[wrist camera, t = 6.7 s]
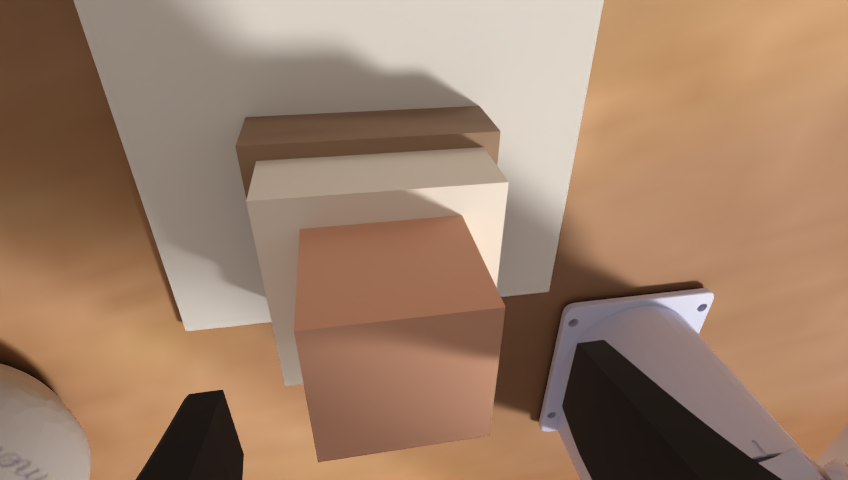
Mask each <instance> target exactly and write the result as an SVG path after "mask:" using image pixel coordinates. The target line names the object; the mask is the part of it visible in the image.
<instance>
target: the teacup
mask: <svg viewBox="0 0 848 480" xmlns="http://www.w3.org/2000/svg"><path fill="white" fill-rule="evenodd" d="M90 467H91V454H90V447H89V443H88V440H87V437H86V434H85V432H84V430H83V428H82V427H81V425H80V423H79V422H78V421H77V419H76V418H75V416H74V415H73V414H72V412H71V411H70V410H69V409H68V408H67V407H66V406H65V404H64V403H63V402H62V401H61V399H60V398H59V397H58V396H57V395H56V394H55V393H54V392H53V391H52V390H51V389H50V388H48V387H47V386H46V385H45V384H43V383H42V382H40V381H39V380H37V379H36V378H34V377H32V376H31V375H29V374H27V373H25V372H23V371H20V370H18V369H15V368H13V367H10V366H7V365H4V364H1V363H0V480H89V476H90Z"/></svg>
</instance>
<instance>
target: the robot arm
mask: <svg viewBox="0 0 848 480" xmlns="http://www.w3.org/2000/svg"><path fill="white" fill-rule="evenodd" d="M713 299H714V294H713V293H712V292H711V291H710V290H709V289H708V288H700V289H691V290H683V291H674V292H665V293H656V294H647V295H638V296H630V297H621V298H612V299H603V300H594V301H585V302H577V303H571V304H569V305H567V306H566V307H565V308H564V310H563V312H562V317H561V321H560V326H559V331H558V335H557V340H556V345H555V350H554V354H553V359H552V364H551V368H550V373H549V378H548V382H547V387H546V392H545V396H544V401H543V406H542V410H541V415H540V420H539V426H540V428H541V430H542V431H554V430H558V432H559V434H560V436H561V438H562V440H563V442H564V445H565V447H566V449H567V451H568V453H569V455H570V458H571V460H572V462H573V464H574V466H575V468H576V471H577V473H578V475H579V477H580V479H581V480H848V464H847V463H846V462H844V461H842V460H840V459H834V460H832V461H831V462H829V463H828V464H826V465H824V468H823V467H822V466H820V465H819V464H818V463H816V462H815V461H814V460H812V459H811V458H810V457H809V456H808V455H807V454H806V453H805V452H804V451H803V449H802V448H801V447H800V446H799V445H798V444H797V443H796V442H795V441H794V439H793V438H792V437H791V436H790V435H789V434H788V433H787V432H786V431H785V429H784V428H783V427H782V426H781V425H780V424H779V423H778V422H777V421H776V419H775V418H774V417H773V416H772V415H771V414H770V413H769V412H768V411H767V410H766V408H765V407H764V406H763V405H762V404H761V403H760V402H759V401H758V400H757V398H756V397H755V396H754V395H753V394H752V393H751V392H750V391H749V390H748V388H747V387H746V386H745V385H744V384H743V383H742V382H741V381H740V380H739V378H738V377H737V376H736V375H735V374H734V373H733V372H732V371H731V370H730V368H729V367H728V366H727V365H726V364H725V363H724V362H723V361H722V360H721V358H720V357H719V356H718V355H717V354H716V353H715V352H714V351H713V350H712V348H711V347H710V346H709V345H708V344H707V343H706V342H705V341H704V340H703V338H702V337H701V336H700V335H699V332H700V330H701V327H702V325H703V322H704V320H705V318H706V315H707V313H708V311H709V308H710V306H711V304H712V301H713ZM573 319H574V320H573ZM571 320H572V321H571ZM569 321H570V322H569ZM243 457H244V454H243V451H242V448H241V445H240V442H239V439H238V435H237V432H236V429H235V426H234V423H233V420H232V417H231V414H230V411H229V408H228V404H227V401H226V398H225V395H224V392H223V390H218V391H210V392H203V393H195V394H189V395H188V396H187V397H186V398H185V399H184V401H183V403H182V404H181V406H180V408H179V410H178V411H177V413H176V415H175V416H174V418H173V420H172V422H171V423H170V425H169V427H168V428H167V430H166V432H165V433H164V435H163V437H162V438H161V440H160V442H159V443H158V445H157V447H156V448H155V450H154V452H153V453H152V455H151V456H150V458H149V460H148V461H147V463H146V465H145V466H144V468H143V469H142V471H141V472H140V474H139V475H138V477H137V479H136V480H242V475H243Z"/></svg>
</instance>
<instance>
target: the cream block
mask: <svg viewBox="0 0 848 480" xmlns="http://www.w3.org/2000/svg"><path fill="white" fill-rule="evenodd" d="M508 184H509V182H508V180H507V179H506V178H505V176H504V175H503V173H502V172H501V170H500V169H499V168H498V166H497V165H496V163H495V162H494V161H493V159H492V158H491V156H490V155H489V153H488V152H487V151H486V149H485V148H484V147H478V148H462V149H445V150H429V151H413V152H396V153H380V154H364V155H347V156H331V157H315V158H298V159H282V160H266V161H256V164H255V168H254V172H253V176H252V180H251V184H250V188H249V192H248V196H247V200H246V203H247V208H248V212H249V217H250V222H251V227H252V231H253V236H254V241H255V246H256V250H257V255H258V260H259V265H260V269H261V274H262V279H263V284H264V289H265V293H266V298H267V303H268V308H269V312H270V317H271V322H272V327H273V331H274V336H275V341H276V346H277V350H278V355H279V360H280V365H281V369H282V374H283V379H284V384H285V386H292V385H300V384H304V383H303V378H302V373H301V367H300V362H299V356H298V351H297V346H296V340H295V335H294V321H295V304H296V287H297V269H298V252H299V235H300V229H306V228H318V227H330V226H341V225H353V224H365V223H377V222H389V221H400V220H412V219H424V218H436V217H447V216H459V215H462V216H463V218H464V220H465V222H466V224H467V227H468V229H469V231H470V233H471V235H472V237H473V239H474V241H475V243H476V246H477V248H478V250H479V252H480V254H481V256H482V258H483V260H484V262H485V265H486V267H487V269H488V271H489V273H490V275H491V277H492V279H493V281H494V283H495V286H496V288H497V280H498V272H499V263H500V254H501V245H502V237H503V228H504V219H505V210H506V202H507V193H508Z"/></svg>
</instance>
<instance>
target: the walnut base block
mask: <svg viewBox="0 0 848 480" xmlns="http://www.w3.org/2000/svg"><path fill="white" fill-rule="evenodd" d="M500 133H501V131H500V130H499V129H498V127H497V126H496V125H495V124H494V123H493V121H492V120H491V119H490V118H489V117H488V115H487V114H486V113H485V112H484V111H483V109H482V108H481V107H480V106H465V107H445V108H424V109H403V110H382V111H361V112H341V113H320V114H299V115H278V116H257V117H245V120H244V123H243V126H242V129H241V131H240V134H239V137H238V140H237V143H236V146H235V147H236V152H237V157H238V162H239V166H240V171H241V176H242V181H243V186H244V190H245V195H246V200H247V196H248V192H249V188H250V184H251V180H252V176H253V172H254V168H255V164H256V161H266V160H282V159H298V158H315V157H331V156H347V155H364V154H380V153H396V152H413V151H429V150H445V149H462V148H478V147H484V148H485V149H486V151H487V152H488V153H489V155H490V156H491V158H492V159H493V161H494V162H495V163H496V165H497V163H498V153H499V143H500Z"/></svg>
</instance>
